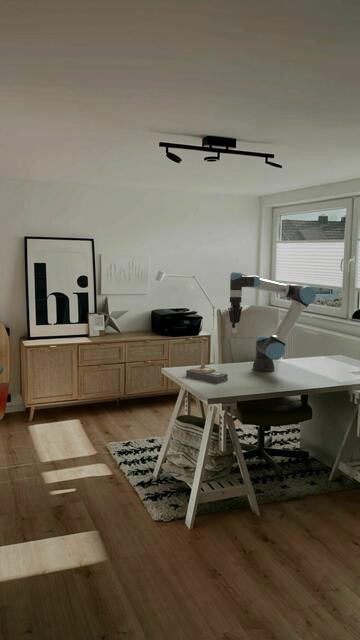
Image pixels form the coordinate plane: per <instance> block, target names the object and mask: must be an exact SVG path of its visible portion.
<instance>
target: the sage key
mask: <svg viewBox="0 0 360 640" xmlns="http://www.w3.org/2000/svg"><path fill="white" fill-rule="evenodd" d="M217 372H218V371H215V373H211V375H215V376H219V375H222V373H223V372H220V373H217Z"/></svg>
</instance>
